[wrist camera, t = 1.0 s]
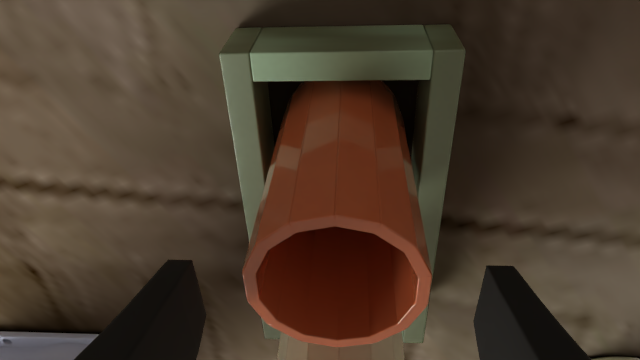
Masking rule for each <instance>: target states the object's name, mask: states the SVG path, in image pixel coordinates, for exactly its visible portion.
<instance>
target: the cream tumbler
mask: <svg viewBox="0 0 640 360" xmlns="http://www.w3.org/2000/svg"><path fill="white" fill-rule="evenodd" d="M277 360H405V359H404V349H403V339H402V331H401V332H399V333H397V334H395V335H392V336H390V337H388V338H386V339H384V340H381V341H379V342H377V343H374V344H366V345H357V346H348V347H330V346H324V345H318V344H313V343H307V342H301V341H298V340H296V339H294V338H292V337H290V336H288V335H286V334H284V333H282V332H281V336H280V342H279V349H278V356H277Z"/></svg>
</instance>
